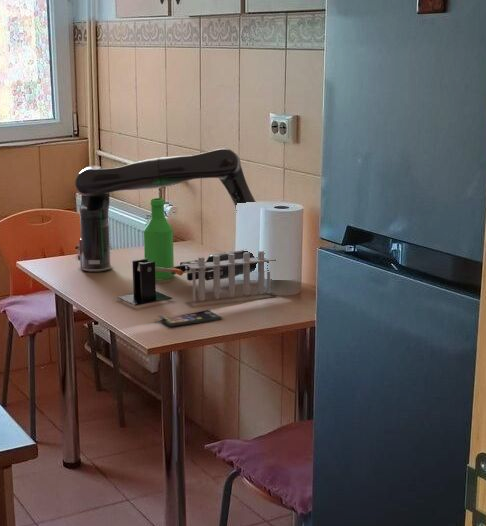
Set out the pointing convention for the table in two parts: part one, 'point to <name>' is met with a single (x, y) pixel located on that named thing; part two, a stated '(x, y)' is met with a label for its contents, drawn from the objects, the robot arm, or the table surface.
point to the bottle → (159, 240)
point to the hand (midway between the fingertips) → (179, 273)
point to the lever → (165, 269)
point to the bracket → (144, 284)
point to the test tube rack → (230, 274)
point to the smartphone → (190, 318)
